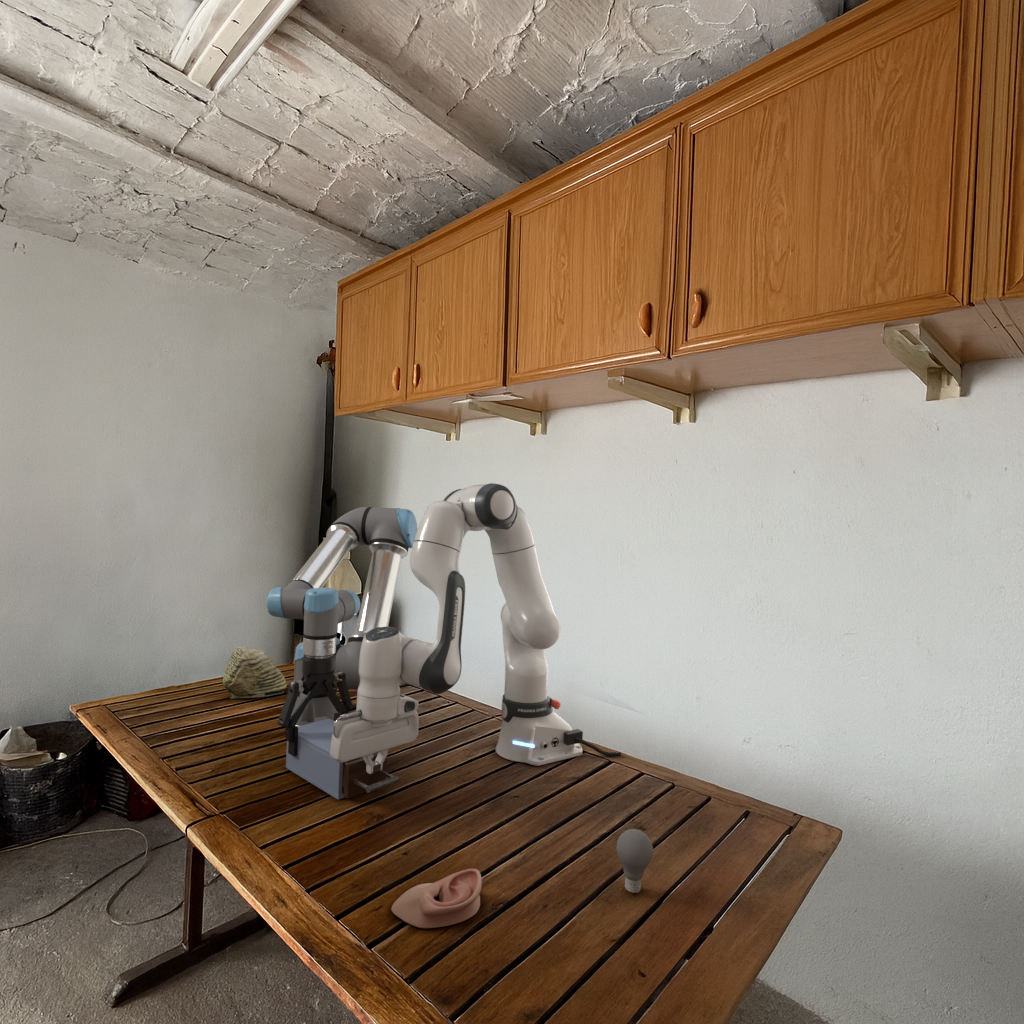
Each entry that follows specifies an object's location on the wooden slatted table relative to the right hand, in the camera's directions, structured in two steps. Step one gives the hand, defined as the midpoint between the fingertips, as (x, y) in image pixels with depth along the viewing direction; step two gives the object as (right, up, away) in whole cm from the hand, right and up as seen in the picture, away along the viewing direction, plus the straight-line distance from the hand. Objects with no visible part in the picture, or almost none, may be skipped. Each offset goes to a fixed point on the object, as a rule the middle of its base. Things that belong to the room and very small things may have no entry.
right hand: (374, 771), depth 133 cm
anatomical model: (+17, -8, -34) cm, 38 cm away
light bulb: (+49, -9, -27) cm, 57 cm away
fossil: (-52, -3, +65) cm, 83 cm away
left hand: (-17, -1, +16) cm, 23 cm away
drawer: (-7, -5, +7) cm, 11 cm away
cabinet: (-12, -5, +11) cm, 17 cm away
